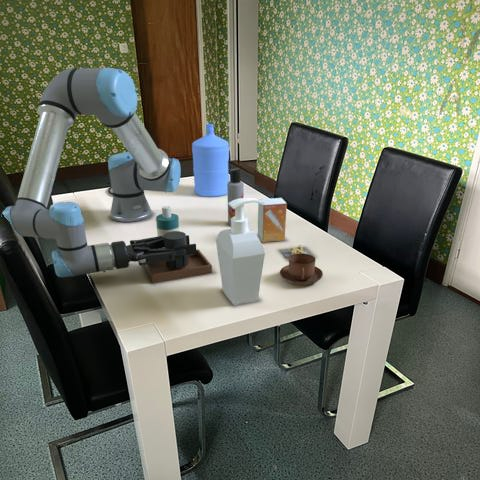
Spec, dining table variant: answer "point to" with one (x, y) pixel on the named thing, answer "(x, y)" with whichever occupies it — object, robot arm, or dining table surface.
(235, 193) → the lotion bottle
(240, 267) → the soap bottle
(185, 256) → the cap
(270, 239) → the small box
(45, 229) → the robot arm
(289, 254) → the dice set
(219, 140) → the water jug
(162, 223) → the capped bottle
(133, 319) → the dining table surface
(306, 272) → the cup and saucer
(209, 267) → the tray
